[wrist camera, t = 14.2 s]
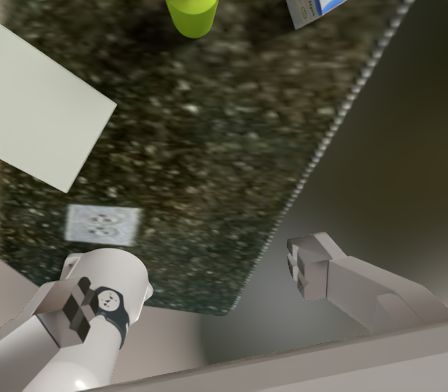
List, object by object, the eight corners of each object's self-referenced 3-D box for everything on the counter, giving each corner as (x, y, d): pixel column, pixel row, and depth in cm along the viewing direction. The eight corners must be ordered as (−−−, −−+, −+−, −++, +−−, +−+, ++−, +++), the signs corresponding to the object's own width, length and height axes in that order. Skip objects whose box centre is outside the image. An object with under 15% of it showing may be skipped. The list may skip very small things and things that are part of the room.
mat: (67, 191, 42) (66, 193, 41) (-53, 129, 36) (-57, 129, 35) (117, 104, 37) (116, 104, 36) (-13, 14, 31) (-17, 13, 30)
